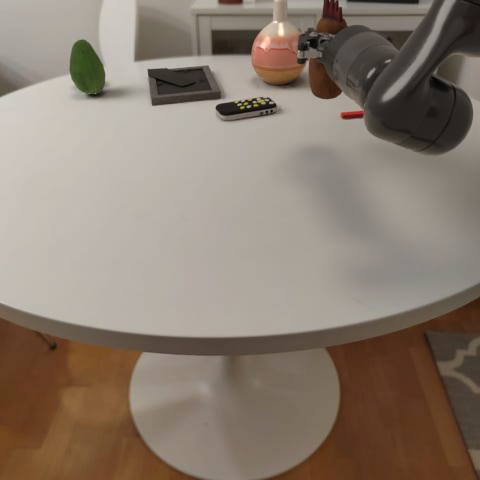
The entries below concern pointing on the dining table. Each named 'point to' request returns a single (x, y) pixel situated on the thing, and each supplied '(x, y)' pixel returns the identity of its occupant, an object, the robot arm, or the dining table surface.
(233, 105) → the remote control
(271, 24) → the vase
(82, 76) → the avocado
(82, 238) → the dining table surface
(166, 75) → the picture frame
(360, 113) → the red spoon
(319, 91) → the wooden figurine
